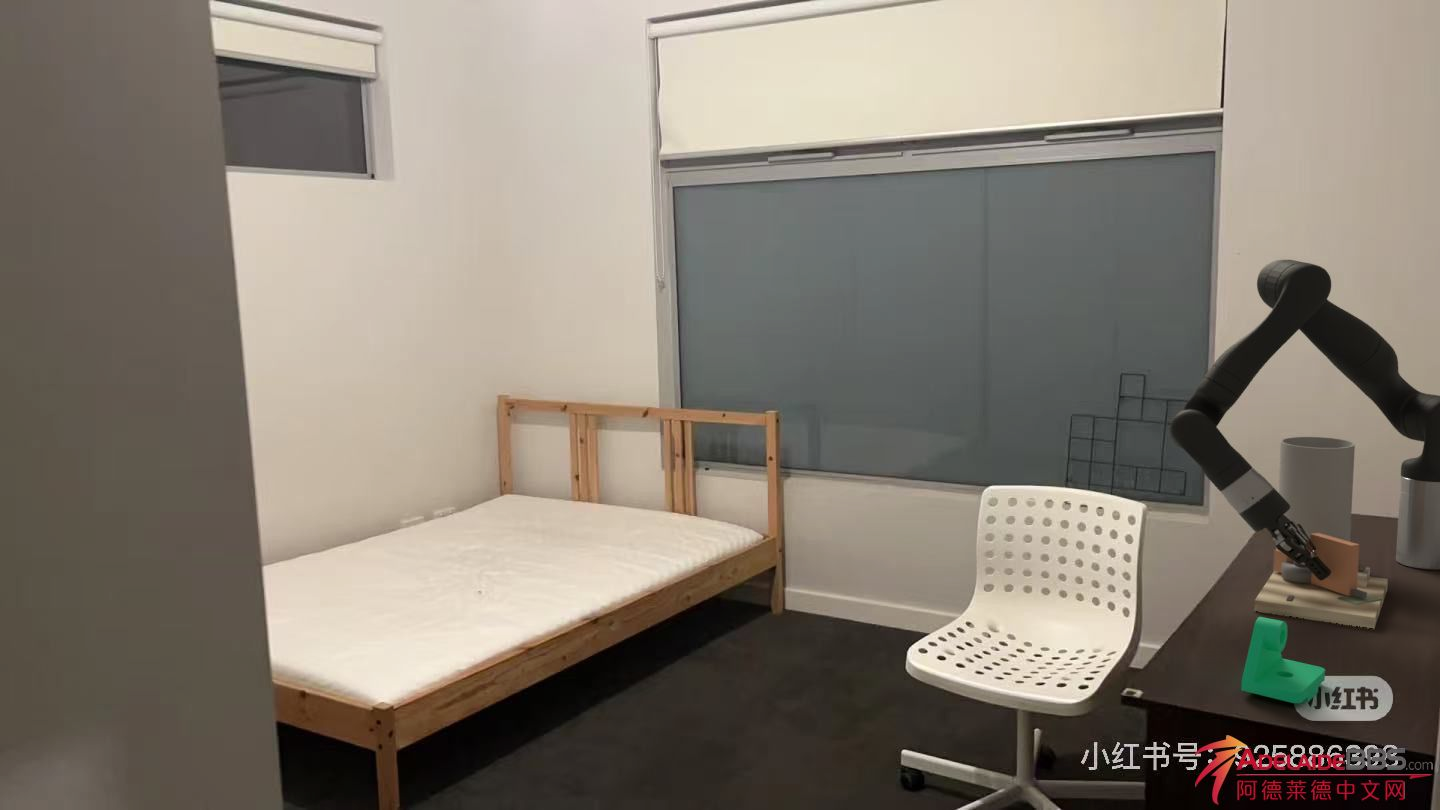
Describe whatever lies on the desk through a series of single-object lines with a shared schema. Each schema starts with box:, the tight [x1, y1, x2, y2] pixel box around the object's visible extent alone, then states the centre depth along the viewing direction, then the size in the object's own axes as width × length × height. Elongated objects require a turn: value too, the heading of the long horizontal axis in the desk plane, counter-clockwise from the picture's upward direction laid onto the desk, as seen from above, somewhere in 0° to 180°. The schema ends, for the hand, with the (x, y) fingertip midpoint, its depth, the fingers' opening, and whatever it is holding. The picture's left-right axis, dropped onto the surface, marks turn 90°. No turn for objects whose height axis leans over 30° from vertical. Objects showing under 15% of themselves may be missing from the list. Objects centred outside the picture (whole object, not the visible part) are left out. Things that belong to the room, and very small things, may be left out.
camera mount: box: [1241, 616, 1326, 704], centre depth 156 cm, size 12×8×10 cm, turn 135°
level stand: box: [1253, 561, 1389, 630], centre depth 193 cm, size 24×18×6 cm
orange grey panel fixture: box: [1273, 533, 1367, 599], centre depth 195 cm, size 19×6×9 cm, turn 18°
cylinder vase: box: [1275, 436, 1356, 550], centre depth 210 cm, size 12×12×25 cm
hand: (1326, 576), depth 191 cm, fingers closed
